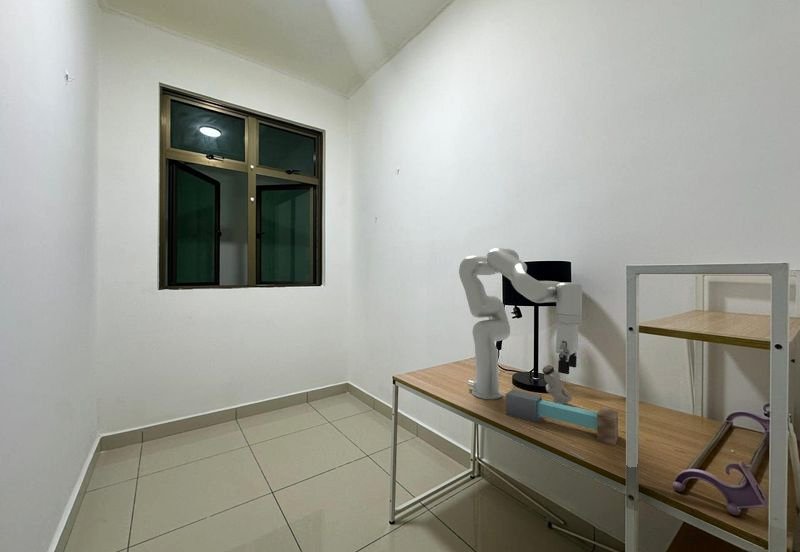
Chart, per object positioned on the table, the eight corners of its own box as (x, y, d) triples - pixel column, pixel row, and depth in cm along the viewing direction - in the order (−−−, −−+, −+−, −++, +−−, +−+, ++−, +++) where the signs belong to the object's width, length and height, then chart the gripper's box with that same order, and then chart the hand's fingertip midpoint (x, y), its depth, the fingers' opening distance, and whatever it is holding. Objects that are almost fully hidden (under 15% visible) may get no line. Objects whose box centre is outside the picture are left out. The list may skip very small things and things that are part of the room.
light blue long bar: (529, 412, 112) (529, 401, 112) (533, 409, 115) (533, 397, 115) (611, 433, 96) (611, 420, 96) (613, 428, 99) (613, 415, 99)
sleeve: (506, 414, 116) (505, 393, 116) (512, 409, 121) (512, 389, 121) (536, 423, 109) (536, 400, 109) (542, 417, 114) (541, 395, 114)
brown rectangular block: (597, 440, 97) (597, 414, 97) (601, 431, 103) (600, 407, 103) (615, 445, 94) (614, 418, 95) (618, 436, 100) (617, 411, 100)
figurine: (544, 398, 132) (544, 361, 132) (572, 403, 127) (571, 365, 127) (541, 405, 124) (541, 366, 125) (571, 410, 119) (570, 370, 119)
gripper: (563, 315, 117) (562, 362, 117) (549, 320, 103) (547, 373, 104) (586, 317, 112) (585, 366, 112) (575, 323, 99) (573, 378, 99)
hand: (567, 369), depth 108 cm, fingers open, 9 cm apart
